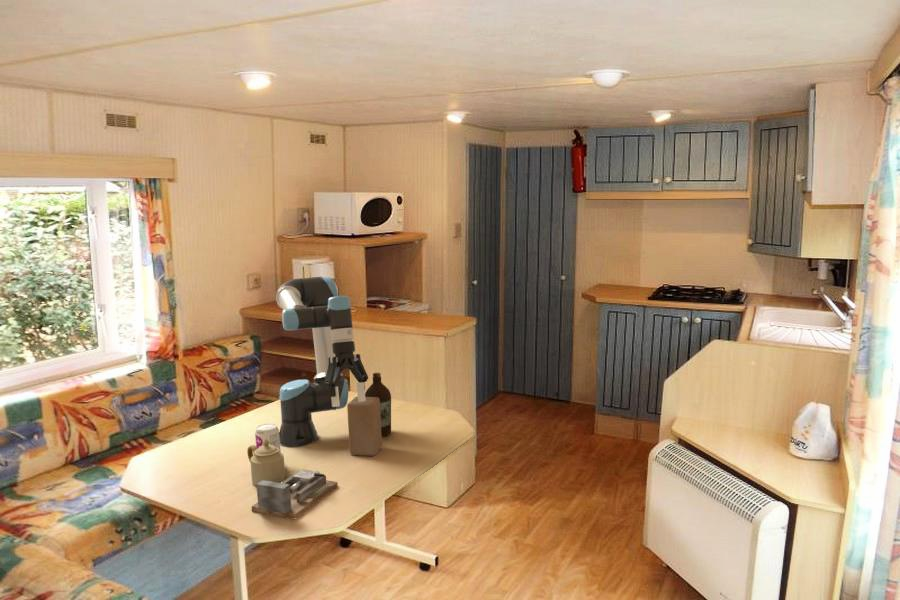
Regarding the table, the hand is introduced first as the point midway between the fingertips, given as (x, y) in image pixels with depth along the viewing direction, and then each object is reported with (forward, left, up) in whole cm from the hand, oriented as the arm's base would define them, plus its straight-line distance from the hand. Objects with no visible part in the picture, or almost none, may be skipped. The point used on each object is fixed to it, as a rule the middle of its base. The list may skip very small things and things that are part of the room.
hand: (349, 404), depth 229 cm
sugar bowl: (-28, -13, -26) cm, 40 cm away
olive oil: (-11, +39, -26) cm, 48 cm away
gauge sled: (-7, -17, -24) cm, 30 cm away
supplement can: (-33, -3, -26) cm, 42 cm away
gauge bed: (-9, -21, -26) cm, 34 cm away
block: (-7, +21, -26) cm, 34 cm away
